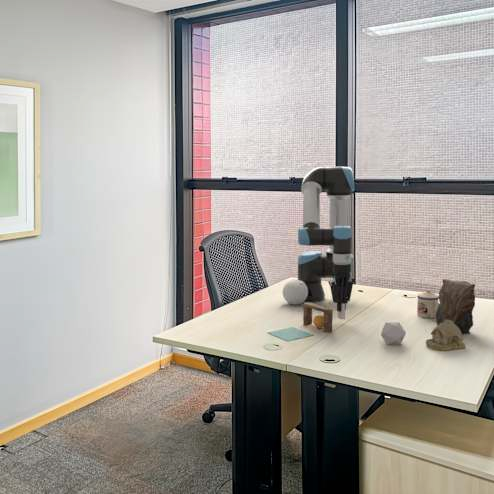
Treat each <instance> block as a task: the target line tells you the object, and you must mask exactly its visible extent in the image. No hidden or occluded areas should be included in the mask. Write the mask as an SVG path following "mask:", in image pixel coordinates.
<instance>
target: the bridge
mask: <svg viewBox="0 0 494 494" xmlns="http://www.w3.org/2000/svg"><path fill="white" fill-rule="evenodd" d="M302 303H303V315H302V316H303V319H302V320H303V325H304V326H306V327H307V326H312V325H313V310H315V311H318V312H320V313H323V328H322V331H323V333H326V334H328V333H332V332H333V316H334V314H333V311H334V310H333V308H329V307H326V306H323V305H320V304H317V303H314V302H302Z"/></svg>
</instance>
